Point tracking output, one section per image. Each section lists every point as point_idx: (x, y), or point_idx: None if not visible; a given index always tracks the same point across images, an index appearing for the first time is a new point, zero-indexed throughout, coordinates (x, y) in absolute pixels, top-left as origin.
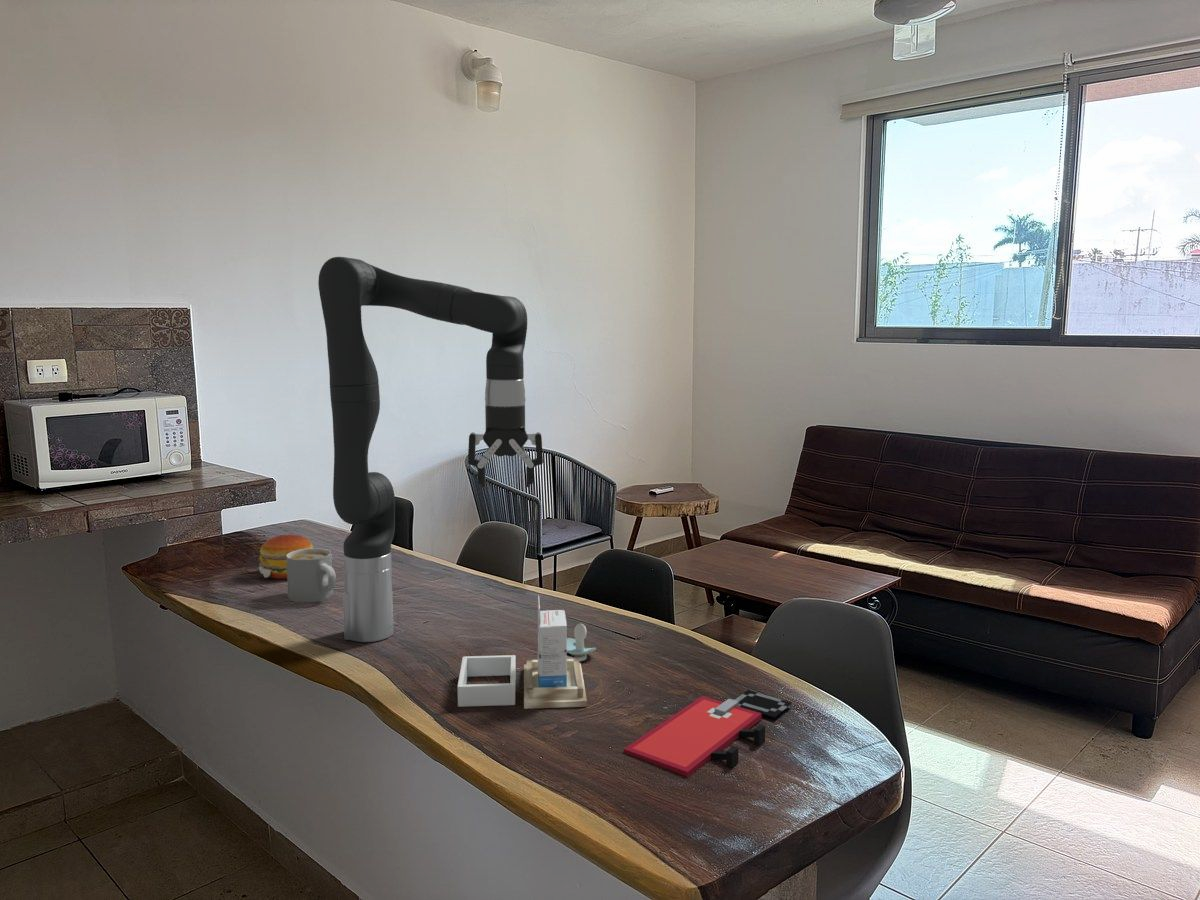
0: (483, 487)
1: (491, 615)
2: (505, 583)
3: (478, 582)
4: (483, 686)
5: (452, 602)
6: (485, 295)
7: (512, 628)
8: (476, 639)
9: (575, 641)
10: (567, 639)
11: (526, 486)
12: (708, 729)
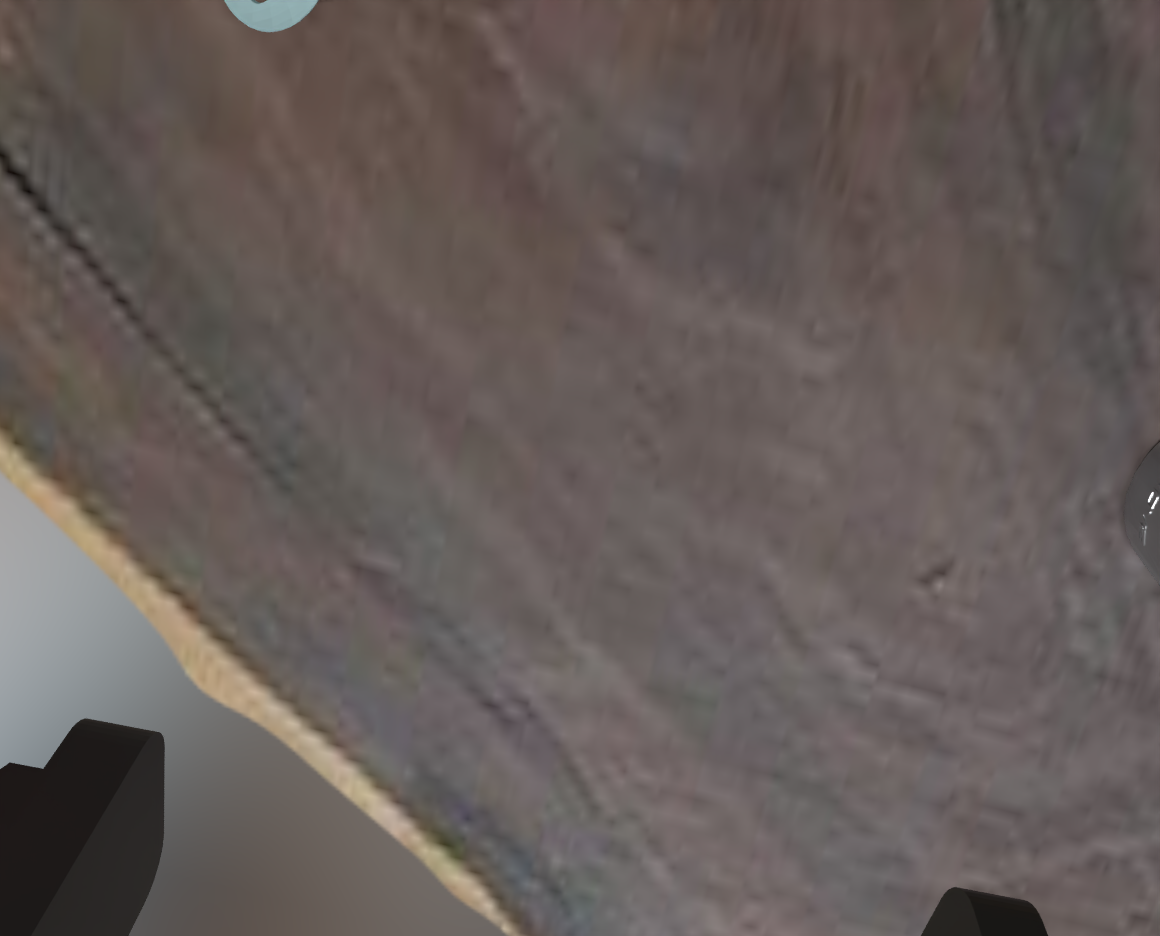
0: (979, 894)
1: (618, 572)
2: (484, 893)
3: (596, 929)
4: None
5: (757, 758)
6: None
7: (550, 388)
8: (758, 294)
9: (252, 12)
10: (294, 18)
11: (151, 734)
12: None
